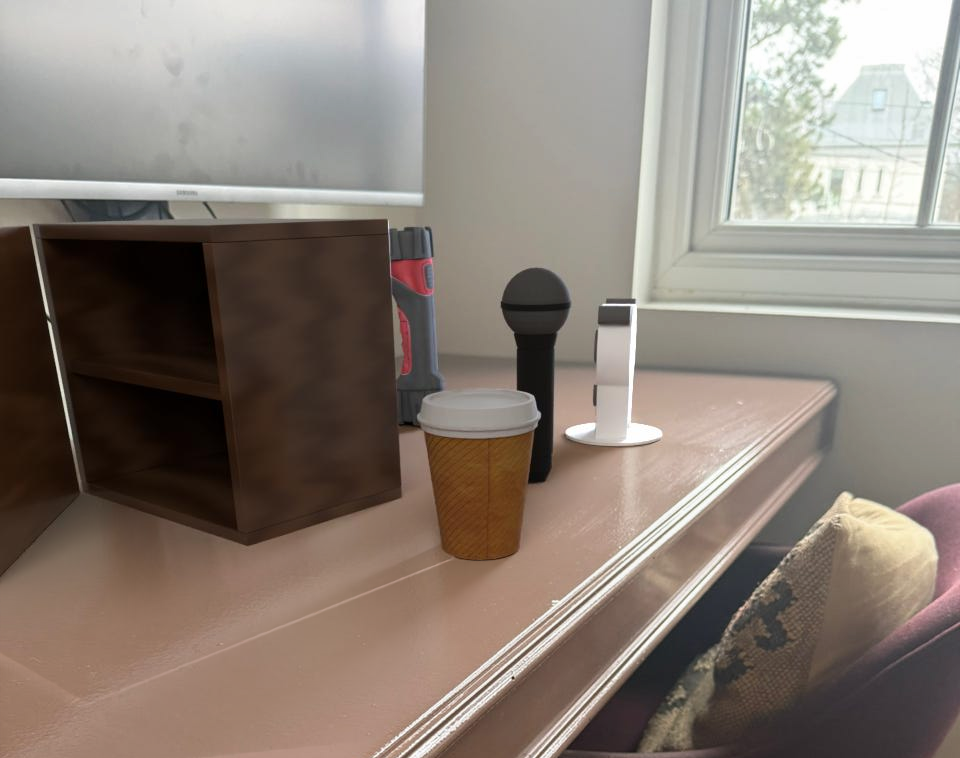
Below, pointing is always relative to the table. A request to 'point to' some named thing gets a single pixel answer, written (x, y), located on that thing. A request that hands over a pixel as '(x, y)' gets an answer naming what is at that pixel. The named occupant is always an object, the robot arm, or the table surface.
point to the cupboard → (228, 367)
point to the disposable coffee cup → (479, 467)
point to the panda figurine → (614, 381)
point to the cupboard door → (28, 406)
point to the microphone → (537, 349)
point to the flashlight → (415, 318)
